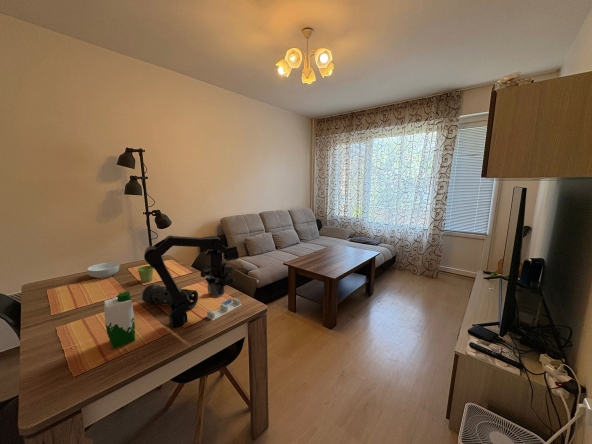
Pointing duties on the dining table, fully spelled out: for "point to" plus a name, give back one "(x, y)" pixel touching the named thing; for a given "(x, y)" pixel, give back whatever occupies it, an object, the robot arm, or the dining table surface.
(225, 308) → the white ridged plate
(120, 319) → the milk carton
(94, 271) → the cereal bowl
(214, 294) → the dark grey knobbed block
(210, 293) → the ceramic mug
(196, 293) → the muzzle brake
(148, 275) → the plant pot
